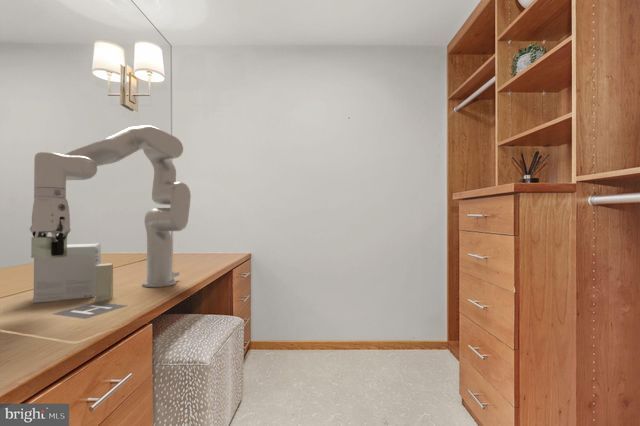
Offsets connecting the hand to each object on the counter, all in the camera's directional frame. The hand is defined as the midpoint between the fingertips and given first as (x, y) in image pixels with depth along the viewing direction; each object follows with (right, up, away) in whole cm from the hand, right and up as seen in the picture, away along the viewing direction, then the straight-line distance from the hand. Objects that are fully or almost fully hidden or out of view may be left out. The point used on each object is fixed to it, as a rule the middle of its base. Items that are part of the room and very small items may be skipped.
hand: (49, 254), depth 103 cm
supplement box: (-7, -17, +18) cm, 26 cm away
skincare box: (+8, -17, +13) cm, 23 cm away
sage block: (0, -1, 0) cm, 1 cm away
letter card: (+13, -17, 0) cm, 21 cm away
